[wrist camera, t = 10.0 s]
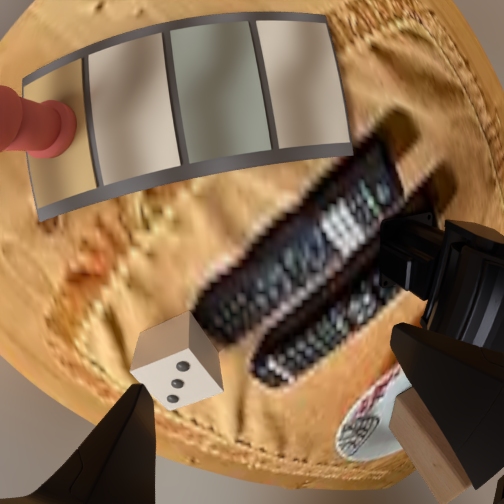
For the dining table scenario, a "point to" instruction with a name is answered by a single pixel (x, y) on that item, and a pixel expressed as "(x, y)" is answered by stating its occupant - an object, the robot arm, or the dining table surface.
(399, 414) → the wooden block
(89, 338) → the dining table surface
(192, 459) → the dining table surface
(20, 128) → the pawn
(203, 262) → the dining table surface
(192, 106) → the board
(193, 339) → the die
